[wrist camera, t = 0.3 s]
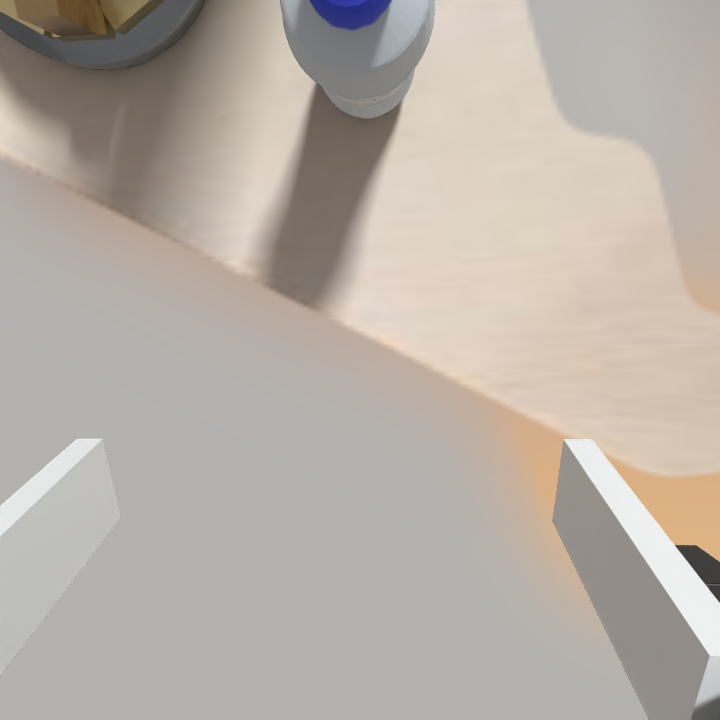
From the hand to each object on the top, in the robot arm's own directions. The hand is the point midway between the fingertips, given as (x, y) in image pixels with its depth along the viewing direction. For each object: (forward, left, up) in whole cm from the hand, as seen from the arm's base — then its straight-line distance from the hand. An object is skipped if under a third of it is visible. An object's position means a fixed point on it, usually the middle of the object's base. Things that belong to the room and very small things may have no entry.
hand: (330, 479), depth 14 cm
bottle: (-15, +1, -27) cm, 31 cm away
